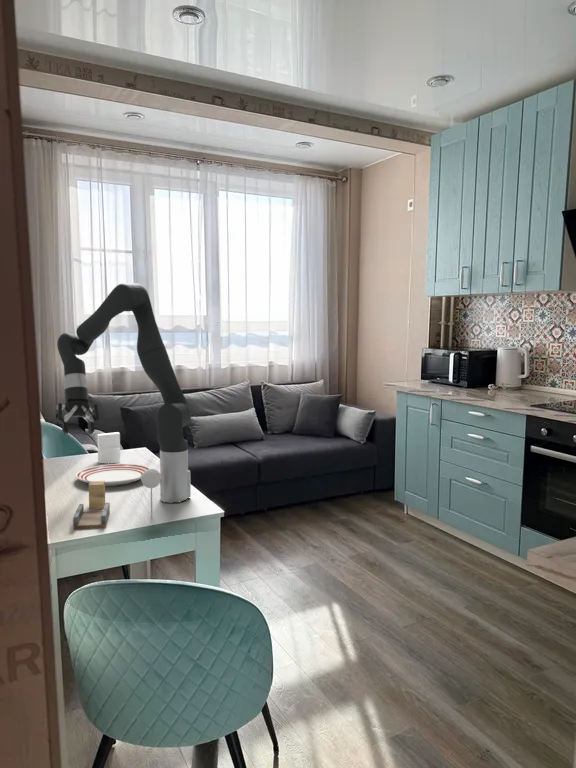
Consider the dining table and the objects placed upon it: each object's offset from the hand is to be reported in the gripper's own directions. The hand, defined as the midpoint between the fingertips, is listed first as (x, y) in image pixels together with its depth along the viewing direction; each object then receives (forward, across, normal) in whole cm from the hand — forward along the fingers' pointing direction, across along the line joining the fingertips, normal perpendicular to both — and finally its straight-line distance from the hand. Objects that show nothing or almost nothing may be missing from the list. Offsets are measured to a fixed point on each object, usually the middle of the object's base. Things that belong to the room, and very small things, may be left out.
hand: (78, 433), depth 191 cm
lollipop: (+32, +10, -26) cm, 43 cm away
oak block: (+26, +1, -8) cm, 27 cm away
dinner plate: (+15, +19, +15) cm, 28 cm away
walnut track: (+31, -6, -19) cm, 36 cm away
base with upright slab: (+4, +29, +39) cm, 48 cm away
